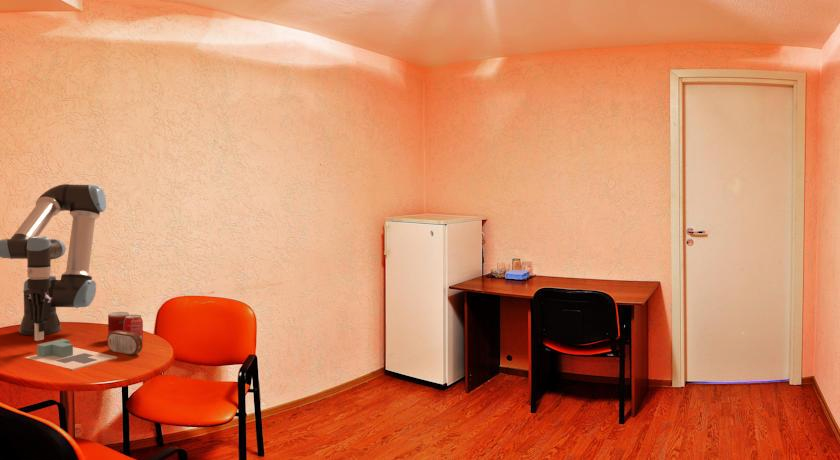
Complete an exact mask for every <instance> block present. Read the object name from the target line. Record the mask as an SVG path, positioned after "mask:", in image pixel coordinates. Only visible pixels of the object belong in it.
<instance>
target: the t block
mask: <svg viewBox="0 0 840 460" xmlns="http://www.w3.org/2000/svg"><path fill="white" fill-rule="evenodd" d="M73 347H74V345H73V343H71V342H70V340H69V339H64V338H61V339H57V340H52V341H48V342H43V343H40V344H36V355H37V356H42V357H47V356H51V355H53V356H58V357H62V358H63V357H67V356H71V355H73Z"/></svg>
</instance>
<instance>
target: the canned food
mask: <svg viewBox="0 0 840 460" xmlns="http://www.w3.org/2000/svg"><path fill="white" fill-rule="evenodd" d="M128 315H130V313H129V312H126V311H115V312H114V311H113V312H110V313H108V316H107V324H108V325H107V327H108V328H107V329H108V330H107V336H108V335H109V334H110V333H112V332H115V331H117V330H120V331H123V323H124V320H125V316H128Z"/></svg>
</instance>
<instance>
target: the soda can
mask: <svg viewBox="0 0 840 460" xmlns="http://www.w3.org/2000/svg"><path fill="white" fill-rule="evenodd" d="M143 321H144V320H143V318H142V315H141V314H129V315H128V316H125V320H124V323H123V331H125V332H132V333H136V334H137V335H138V336H139V337H140V338H141V340H142V343H143V342H144V341H143V340H144V339H143V338H144V324H143V323H144V322H143Z"/></svg>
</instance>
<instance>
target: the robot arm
mask: <svg viewBox="0 0 840 460" xmlns="http://www.w3.org/2000/svg"><path fill="white" fill-rule="evenodd" d="M106 207H107V200H106V194H105V192H104V190H103V188H102V187H101V186H100V185H93V184H68V183H67V184H66V183H64V184H59V185H55V186H53V187H51V188H50V189H48V190H46V191H44V192H43V193H42V194H41V195H40V196H39V197H38V199H36V201H35V207H34V208H33V209H32V210H31V212H30V213H29V215H27V217H26V218H25V219H24V221H23V222H22V223H21V225H20V226H19V227H18V229H17V230H16V231H15V233H14V234H12V236H11V237H10V238H2V239H0V258H1V259H10V260H13V259H14V260H19V259H20V260H26V262H27V265H26V266H27V270H26V273H27V276H26V277H27V278H28V279H26V280H25V281H24V283H23V290H22V291H23V317H22V319H21V322H20V325H19V328H18V330H19V331H18V332H19V334H20V335H24V336H34V341H36V342H38V341H42V340H45V335H50V334H55V333H58V332H60V331H61V330H62V324H61V322H60V319H59V317H58V313H57V308H76V309H78V308H86V307H88V306H90V305H91V304H92V303H93V301H94V299H95V296H96V292H97V284H96V282H95V280H93V276H92V275H91V274H90V273H89V272H90V264H91V263H90V262H91V258H92V257H91V255H92V247H93V241H94V240H93V239H94V233H95V231H94V230H95V225H96V223H95V222H96V219H98V218H99V217H100V213H103V212H105V210H106ZM64 211H68V212H69V215H70V216H71V217H72V222H71V230H70V238H69V239H70V240H69V246H68V254H67V259H66V269H65V272H63V273H62V274H61V276H60V279H57V276H55V275H52V272H51V271H52V270H51V269H52V266H51V261H52V260H57V259H59V258H62V256H64V255H65V253H66V249H67V248H66V244H65V243H64V242H63V241H62V240H60V239H54V238H53V239H52V238H51V239H50V237H49V236H40V235H41V234H42V232H43V231H44V229H45V228H46V226H47V225H48V224H49V222H50V221H51V220H52V218H53V217H54V216H56V215H58V214H60V212H64Z"/></svg>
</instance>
